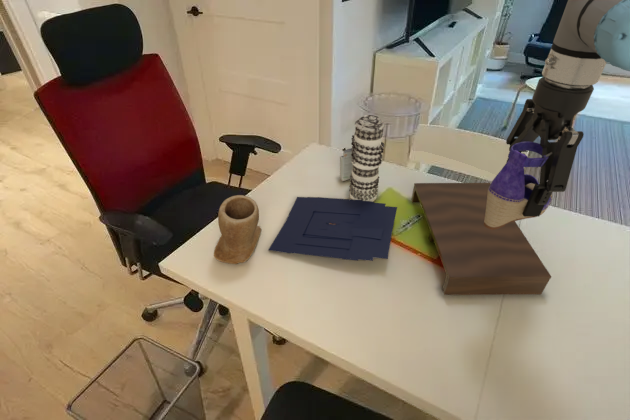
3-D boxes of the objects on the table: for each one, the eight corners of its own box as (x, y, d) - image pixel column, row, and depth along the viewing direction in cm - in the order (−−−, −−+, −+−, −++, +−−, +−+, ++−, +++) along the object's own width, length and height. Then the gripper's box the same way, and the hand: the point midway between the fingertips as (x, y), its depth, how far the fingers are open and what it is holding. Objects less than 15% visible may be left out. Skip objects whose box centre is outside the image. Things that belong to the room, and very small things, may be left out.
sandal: (566, 205, 73) (602, 135, 64) (495, 238, 66) (524, 165, 56) (529, 184, 79) (558, 118, 69) (461, 213, 71) (482, 142, 62)
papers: (386, 272, 88) (386, 261, 85) (269, 258, 96) (267, 248, 94) (398, 210, 106) (398, 200, 104) (298, 203, 115) (297, 193, 112)
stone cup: (254, 270, 90) (247, 223, 81) (209, 263, 92) (196, 216, 83) (272, 230, 102) (268, 184, 92) (231, 224, 104) (223, 179, 94)
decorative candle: (343, 190, 116) (346, 114, 101) (369, 184, 119) (377, 109, 103) (355, 206, 110) (362, 128, 94) (383, 199, 112) (394, 123, 97)
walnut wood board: (541, 294, 84) (551, 276, 80) (444, 294, 84) (449, 277, 80) (484, 199, 112) (489, 182, 109) (411, 199, 112) (414, 183, 109)
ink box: (368, 170, 125) (371, 139, 118) (372, 173, 124) (375, 142, 116) (338, 178, 121) (339, 146, 114) (341, 181, 120) (343, 150, 113)
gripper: (512, 58, 66) (478, 167, 79) (584, 110, 48) (524, 237, 62) (554, 58, 66) (513, 166, 79) (642, 110, 48) (569, 237, 62)
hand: (518, 197), depth 71 cm, fingers closed on sandal, 10 cm apart
